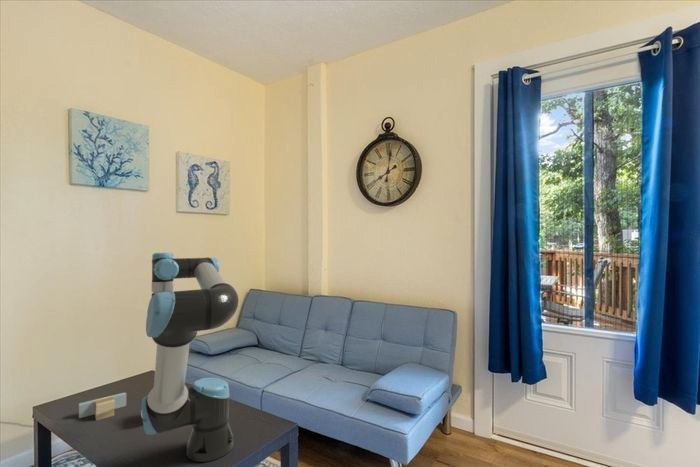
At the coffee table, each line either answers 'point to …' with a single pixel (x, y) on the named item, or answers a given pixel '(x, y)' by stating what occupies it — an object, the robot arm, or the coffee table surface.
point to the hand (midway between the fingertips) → (161, 352)
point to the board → (89, 406)
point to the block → (104, 407)
